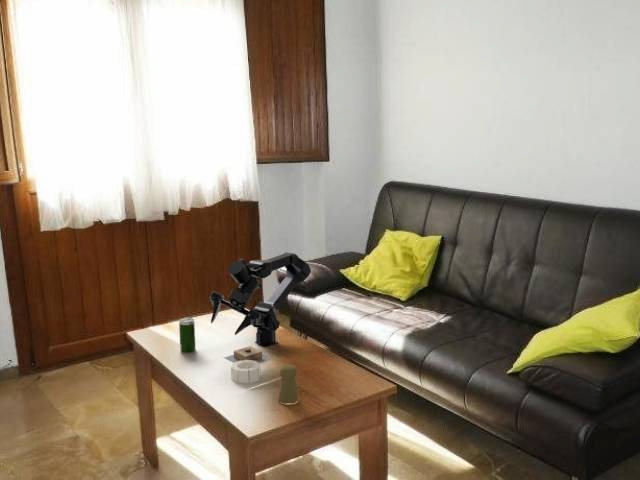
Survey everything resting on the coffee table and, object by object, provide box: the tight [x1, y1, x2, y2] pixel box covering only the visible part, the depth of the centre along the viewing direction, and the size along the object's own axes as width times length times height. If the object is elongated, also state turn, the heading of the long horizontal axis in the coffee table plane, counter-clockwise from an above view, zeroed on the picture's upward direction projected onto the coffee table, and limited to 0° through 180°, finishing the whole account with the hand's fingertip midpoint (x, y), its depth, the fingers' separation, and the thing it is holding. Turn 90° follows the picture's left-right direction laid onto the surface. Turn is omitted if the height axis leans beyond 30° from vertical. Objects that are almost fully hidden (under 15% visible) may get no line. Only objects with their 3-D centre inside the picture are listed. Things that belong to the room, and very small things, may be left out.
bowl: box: [230, 360, 261, 384], centre depth 213 cm, size 9×9×4 cm
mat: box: [224, 353, 273, 364], centre depth 230 cm, size 12×12×1 cm
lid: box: [233, 345, 263, 361], centre depth 229 cm, size 7×7×3 cm
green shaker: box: [278, 364, 300, 404], centre depth 197 cm, size 6×6×11 cm
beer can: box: [178, 317, 197, 355], centre depth 235 cm, size 5×5×12 cm
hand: (223, 328), depth 224 cm, fingers open, 9 cm apart
